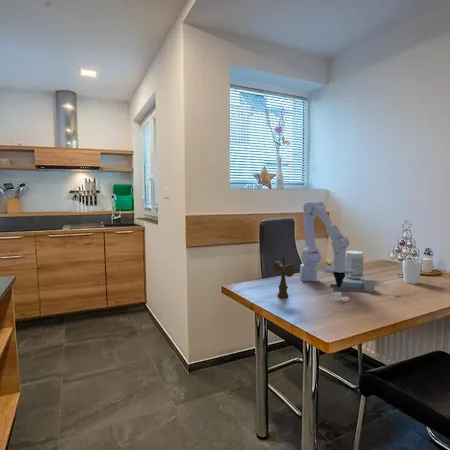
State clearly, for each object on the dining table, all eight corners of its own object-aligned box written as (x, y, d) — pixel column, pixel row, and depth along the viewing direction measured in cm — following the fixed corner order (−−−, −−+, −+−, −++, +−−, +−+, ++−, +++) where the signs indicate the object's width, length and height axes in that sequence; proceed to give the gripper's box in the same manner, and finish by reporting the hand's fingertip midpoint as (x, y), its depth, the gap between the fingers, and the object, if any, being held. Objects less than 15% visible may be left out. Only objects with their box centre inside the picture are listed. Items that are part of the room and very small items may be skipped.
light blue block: (342, 289, 160) (342, 282, 159) (340, 287, 163) (340, 280, 163) (366, 290, 158) (367, 282, 158) (364, 288, 162) (364, 280, 162)
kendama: (285, 300, 144) (286, 257, 142) (271, 295, 152) (271, 254, 150) (294, 298, 147) (295, 256, 145) (280, 292, 155) (281, 252, 153)
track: (333, 290, 158) (333, 279, 158) (330, 286, 165) (330, 275, 165) (374, 291, 156) (375, 280, 156) (369, 287, 163) (369, 276, 163)
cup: (415, 280, 177) (416, 259, 176) (423, 284, 168) (425, 262, 167) (398, 279, 178) (399, 258, 177) (406, 284, 169) (407, 262, 168)
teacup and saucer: (350, 300, 145) (350, 292, 145) (347, 306, 139) (347, 297, 138) (330, 297, 150) (330, 288, 149) (326, 302, 143) (326, 293, 143)
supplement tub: (365, 277, 184) (366, 252, 182) (358, 280, 177) (359, 254, 175) (349, 273, 191) (350, 249, 189) (341, 276, 184) (342, 252, 182)
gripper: (326, 262, 157) (325, 288, 158) (356, 262, 155) (355, 289, 157) (323, 259, 164) (322, 284, 165) (352, 259, 162) (351, 285, 164)
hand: (338, 286), depth 161 cm, fingers closed
